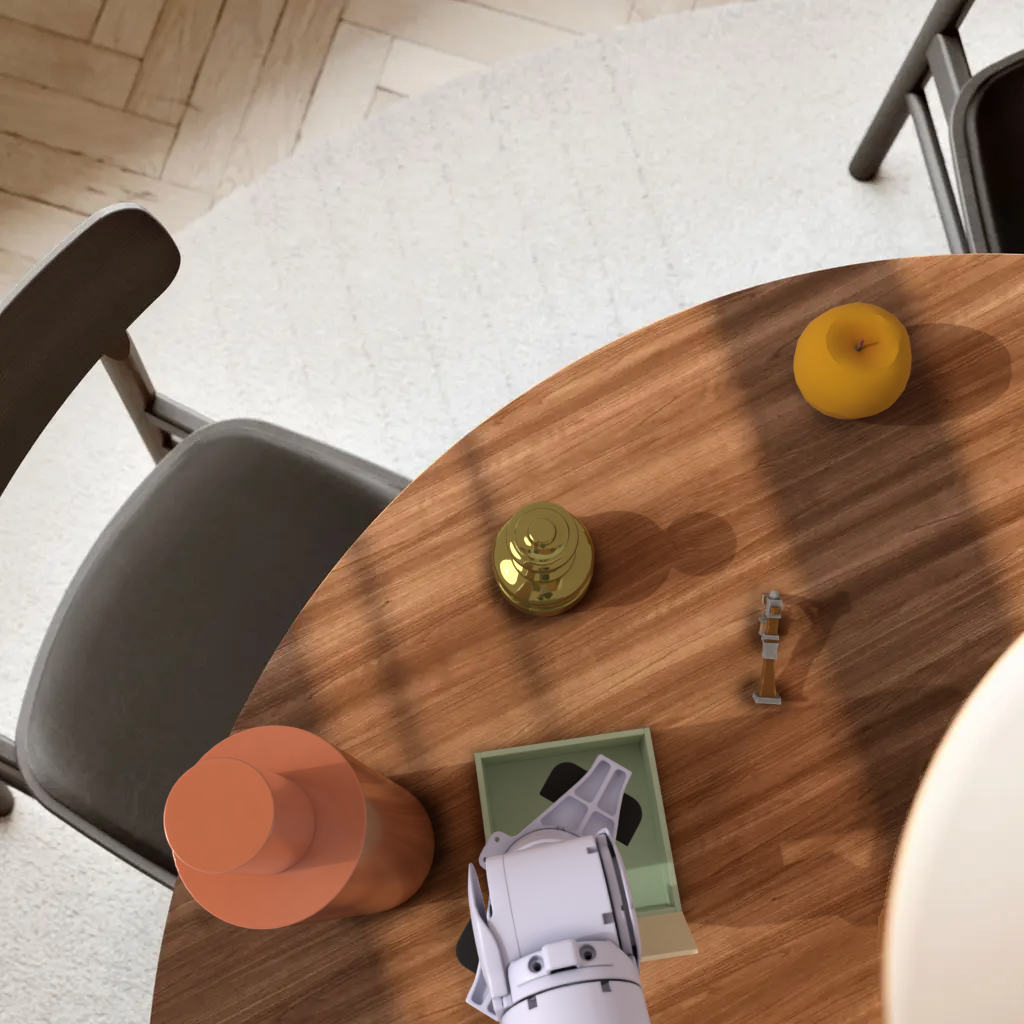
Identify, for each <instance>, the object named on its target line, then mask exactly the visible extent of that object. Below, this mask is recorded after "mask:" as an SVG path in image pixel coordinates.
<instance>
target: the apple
mask: <svg viewBox="0 0 1024 1024" xmlns="http://www.w3.org/2000/svg"><path fill="white" fill-rule="evenodd" d="M912 361H913V355H912V349H911V340H910V335H909V334H908V331H907V328H906V327H905V326H904V324H902V322H901V321H900V320H899V319H898V317H897V316H896V315H895V314H893V313H891V312H889V311H888V310H886V309H884V308H883V307H880V306H878V305H875V304H874V303H867V302H861V301H854V302H850V303H846V304H842V305H838V306H834V307H832V308H830V309H828V310H826V311H825V312H823V313H822V314H820V315H818V316H817V317H816V318H814V319H812V320H811V321H810V322H809V323H808V324H807V326H806V327H805V329H803V331H802V333H801V334H800V336H799V337H798V339H797V342H796V347H795V352H794V356H793V374H794V379H795V384H796V385H797V387H798V389H799V391H800V393H801V394H802V397H803V399H804V401H805V402H807V403H808V404H809V405H810V406H811V407H812V408H814V409H815V410H817V411H818V412H820V413H821V414H823V415H825V416H826V417H827V416H828V417H831V418H834V419H837V420H858V419H863V418H868V417H872V416H875V415H878V414H879V413H882V412H884V411H885V410H888V409H889V408H890V407H891V406H892V405H893V404H895V403H896V402H897V400H898V399H899V398H900V396H901V395H902V394H903V392H904V391H905V389H906V386H907V384H908V381H909V379H910V376H911V371H912Z"/></svg>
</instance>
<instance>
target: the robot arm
mask: <svg viewBox="0 0 1024 1024" xmlns="http://www.w3.org/2000/svg"><path fill="white" fill-rule="evenodd" d="M631 775H632V772H631V771H629V770H628V769H626V768H624V767H622V766H621V765H619V764H617V763H615V762H614V761H612V760H610V759H609V758H607V757H605V756H603V755H602V754H600V755H598V756H597V758H596V759H595V761H594V763H593V765H592V767H591V768H590V770H589V771H586V770H585V769H583V768H581V767H579V766H578V765H576V764H574V763H571V762H563V763H560V764H558V765H556V766H555V767H554V768H553V770H552V771H551V773H550V775H549V777H548V778H547V780H546V782H545V784H544V786H543V787H542V789H541V791H540V795H541V796H543V797H544V798H546V799H548V800H549V801H551V802H553V804H552V805H551V806H550V807H549V808H548V809H546V810H545V811H544V812H543V813H542V814H541V815H540V816H538V817H537V818H536V819H535V820H534V821H533V822H532V823H530V824H529V825H528V826H527V827H526V828H525V829H524V830H522V831H521V832H520V833H519V834H518V835H516V836H509V835H507V834H505V833H504V832H500V831H497V832H494V833H493V834H492V835H491V836H490V837H489V839H488V841H487V843H486V842H485V845H484V846H483V848H482V850H481V852H480V854H479V857H478V863H479V866H480V867H481V868H482V869H484V870H485V872H486V879H487V880H486V881H487V886H488V893H489V896H488V901H487V902H488V904H487V905H488V906H487V911H486V907H485V902H484V897H483V893H482V889H481V884H480V880H479V877H478V874H477V871H476V868H475V865H474V864H473V863H472V862H470V863H469V864H468V875H467V876H468V877H467V897H468V905H469V913H470V918H469V920H467V921H468V922H467V924H466V925H465V927H464V928H463V931H462V932H461V934H460V936H459V938H458V940H457V942H456V945H455V956H456V958H457V961H458V962H459V964H460V965H462V967H464V968H465V969H467V970H468V971H470V972H471V973H473V974H475V978H474V980H473V983H472V984H471V986H470V988H469V991H468V992H467V994H466V998H465V1002H466V1004H468V1005H470V1006H471V1007H473V1008H474V1009H476V1010H478V1011H479V1012H481V1013H483V1014H484V1015H486V1016H488V1017H489V1018H491V1019H492V1020H494V1021H495V1022H499V1024H652V1023H651V1022H652V1021H651V1019H650V1015H649V1010H648V1006H647V1002H646V997H645V994H644V990H643V986H642V981H641V977H640V975H641V962H640V961H641V938H640V932H639V926H638V921H637V916H636V911H635V907H634V902H633V898H632V894H631V889H630V885H629V881H628V877H627V873H626V870H625V866H624V863H623V860H622V857H621V854H620V852H619V850H618V848H617V846H616V844H615V841H616V840H617V841H619V842H620V843H622V844H624V845H626V846H627V847H628V845H629V843H630V841H631V839H632V837H633V835H634V834H635V832H636V830H637V828H638V826H639V824H640V822H641V819H642V809H641V806H640V804H639V803H638V801H637V800H636V799H634V798H633V797H631V796H630V795H628V794H626V793H624V790H625V788H626V785H627V783H628V781H629V779H630V777H631ZM496 837H498V838H499V841H496V840H495V838H496Z"/></svg>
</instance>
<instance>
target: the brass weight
mask: <svg viewBox="0 0 1024 1024" xmlns="http://www.w3.org/2000/svg"><path fill="white" fill-rule="evenodd" d="M593 541H594V540H593V538H592V536H591V534H590V532H589V530H588V528H587V527H586V526H585V525H584V523H583V522H582V521H581V520H580V519H579V518H578V517H577V516H575V515H574V514H573V513H571V512H569V511H568V510H567V509H565V508H564V507H563V506H561V505H560V504H557V503H555V502H551V501H545V500H544V501H543V500H540V501H533V502H530V503H527V504H525V505H523V506H522V507H521V508H519V509H518V510H517V511H515V512H514V514H513V515H512V516H510V517H509V518H508V519H507V520H506V521H505V522H504V523H503V524H502V525H501V527H500V528H499V530H498V531H497V533H496V535H495V537H494V540H493V544H492V548H491V565H492V570H493V575H494V578H495V581H496V585H497V587H498V590H499V591H500V593H501V595H502V596H503V598H504V599H505V600H506V601H507V603H509V604H510V605H511V606H512V607H513V608H514V609H516V610H518V611H519V612H521V613H524V614H527V615H530V616H534V617H543V618H544V617H553V616H558V615H561V614H563V613H565V612H567V611H569V610H571V609H573V608H574V607H575V606H576V605H577V604H579V602H580V601H582V599H583V598H584V596H585V595H586V593H587V592H588V590H589V587H590V585H591V582H592V579H593V578H592V577H593V575H594V567H595V555H596V554H595V553H596V552H595V546H594V542H593Z"/></svg>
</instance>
